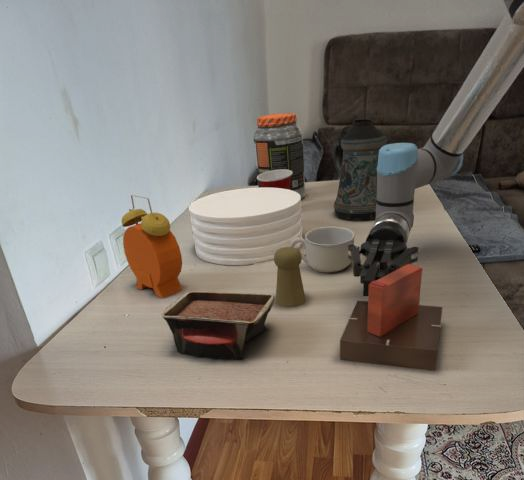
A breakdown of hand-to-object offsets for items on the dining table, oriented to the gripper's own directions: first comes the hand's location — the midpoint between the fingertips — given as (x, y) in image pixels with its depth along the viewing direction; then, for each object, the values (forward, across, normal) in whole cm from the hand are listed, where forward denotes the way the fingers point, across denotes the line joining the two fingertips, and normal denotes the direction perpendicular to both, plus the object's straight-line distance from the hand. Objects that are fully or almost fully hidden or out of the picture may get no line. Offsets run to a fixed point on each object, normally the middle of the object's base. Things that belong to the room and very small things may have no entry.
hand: (368, 288), depth 76 cm
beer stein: (-71, +14, -9) cm, 73 cm away
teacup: (-29, +14, -9) cm, 34 cm away
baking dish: (+6, +24, -9) cm, 26 cm away
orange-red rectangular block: (+1, -4, -5) cm, 7 cm away
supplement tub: (-88, +43, -9) cm, 99 cm away
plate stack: (-42, +37, -9) cm, 57 cm away
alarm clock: (-13, +48, -9) cm, 50 cm away
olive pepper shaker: (-11, +17, -9) cm, 22 cm away
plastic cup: (-71, +39, -9) cm, 82 cm away
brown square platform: (+1, -4, -9) cm, 10 cm away
